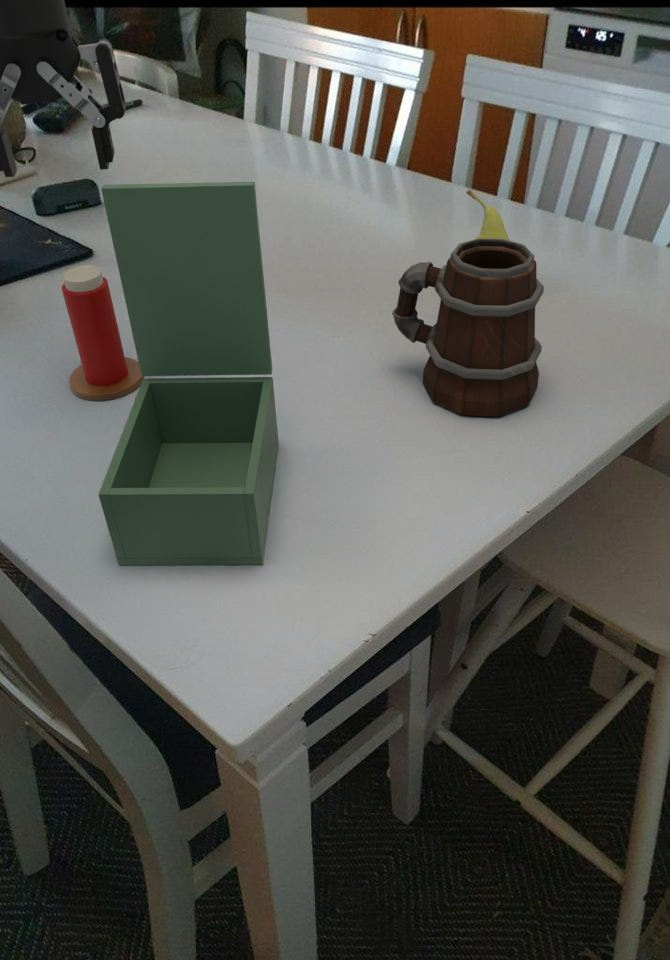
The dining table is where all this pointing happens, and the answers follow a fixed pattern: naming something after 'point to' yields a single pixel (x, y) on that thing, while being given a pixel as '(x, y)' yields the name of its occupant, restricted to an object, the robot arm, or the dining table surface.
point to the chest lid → (192, 276)
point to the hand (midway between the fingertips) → (58, 170)
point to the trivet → (111, 391)
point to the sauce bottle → (94, 325)
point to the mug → (477, 326)
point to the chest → (194, 473)
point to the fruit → (490, 221)
